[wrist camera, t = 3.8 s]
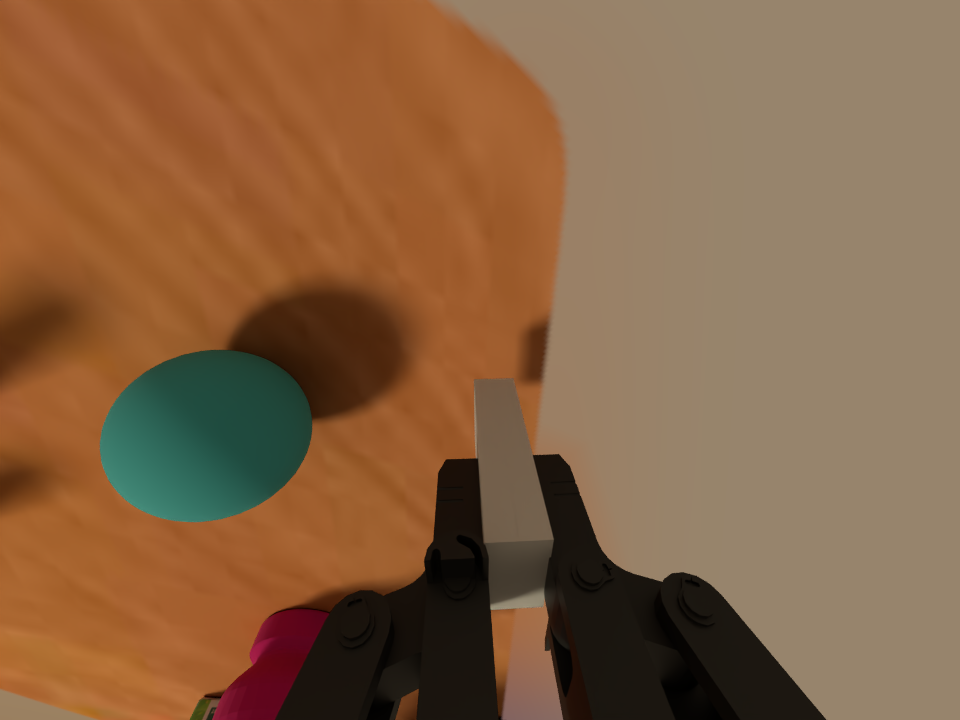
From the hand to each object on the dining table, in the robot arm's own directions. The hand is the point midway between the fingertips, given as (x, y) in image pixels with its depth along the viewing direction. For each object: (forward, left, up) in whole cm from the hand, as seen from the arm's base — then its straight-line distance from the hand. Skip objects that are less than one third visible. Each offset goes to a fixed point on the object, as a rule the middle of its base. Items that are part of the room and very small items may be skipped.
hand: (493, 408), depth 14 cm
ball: (0, +10, +1) cm, 10 cm away
